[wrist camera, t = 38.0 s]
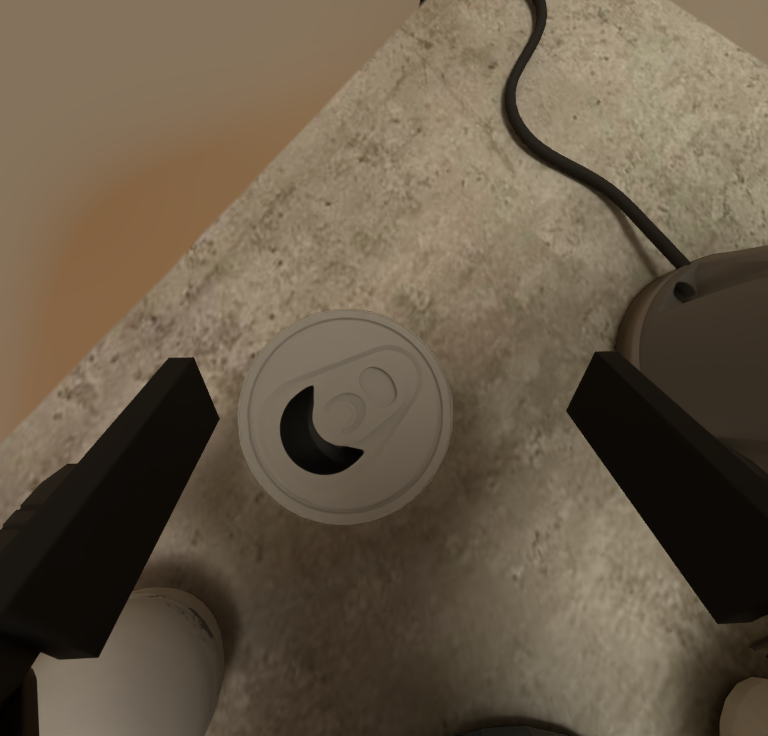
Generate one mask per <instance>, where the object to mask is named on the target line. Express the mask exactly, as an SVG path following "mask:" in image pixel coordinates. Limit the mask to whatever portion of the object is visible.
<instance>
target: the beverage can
mask: <svg viewBox="0 0 768 736" xmlns="http://www.w3.org/2000/svg"><path fill="white" fill-rule="evenodd" d="M237 420H238V432H239V440H240V445H241V449H242V452H243V455H244V458H245V460H246V463H247V465H248V467H249V469H250V471H251V472H252V474H253V476H254V477H255V479H256V480H257V482H258V483H259V484H260V486H261V487H262V488H263V489H264V490H265V491H266V492H267V493H268V495H269V496H270V497H272V498H273V499H274V500H275V501H276V502H277V503H279V504H280V505H281V506H283V507H284V508H286V509H287V510H289V511H291V512H293V513H295V514H297V515H299V516H301V517H303V518H306V519H309V520H312V521H315V522H319V523H324V524H331V525H355V524H362V523H367V522H371V521H374V520H378V519H381V518H383V517H386V516H388V515H390V514H392V513H394V512H396V511H398V510H400V509H402V508H403V507H405V506H406V505H408V504H409V503H410V502H412V501H413V500H414V499H416V498H417V497H418V496H419V495H420V494H421V493H422V492H423V491H424V490H425V489H426V487H427V486H428V485H429V484H430V483H431V481H432V480H433V479H434V477H435V476H436V474H437V473H438V471H439V469H440V468H441V466H442V464H443V462H444V460H445V457H446V455H447V452H448V449H449V446H450V442H451V438H452V433H453V425H454V406H453V399H452V393H451V389H450V385H449V382H448V379H447V376H446V374H445V372H444V369H443V367H442V365H441V363H440V362H439V360H438V359H437V357H436V356H435V354H434V353H433V351H432V350H431V349H430V347H429V346H428V345H427V344H426V343H425V342H424V341H423V340H422V339H421V338H420V337H419V336H418V335H417V334H415V333H414V332H413V331H411V330H410V329H408V328H407V327H406V326H404V325H402V324H401V323H399V322H397V321H395V320H393V319H391V318H389V317H386V316H384V315H381V314H378V313H374V312H370V311H365V310H359V309H335V310H328V311H323V312H319V313H315V314H312V315H309V316H307V317H304V318H302V319H300V320H298V321H296V322H294V323H292V324H291V325H289V326H287V327H286V328H284V329H283V330H282V331H280V332H279V333H278V334H277V335H275V336H274V337H273V338H272V339H271V340H270V341H269V342H268V343H267V344H266V345H265V346H264V348H263V349H262V350H261V351H260V353H259V354H258V355H257V357H256V358H255V360H254V361H253V363H252V365H251V367H250V368H249V370H248V372H247V374H246V377H245V380H244V382H243V385H242V388H241V392H240V397H239V402H238V409H237Z"/></svg>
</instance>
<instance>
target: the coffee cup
mask: <svg viewBox="0 0 768 736" xmlns="http://www.w3.org/2000/svg"><path fill="white" fill-rule="evenodd" d="M720 736H768V679H765V678H757V677H750V678H748V679H746V680H743V681H741V682H739V683H737V684H736V685H735V687H734V688H733V690H732V691H731V692H730V694H729V695H728V696H727V698H726V699H725V703H724V707H723V710H722V714H721V718H720Z"/></svg>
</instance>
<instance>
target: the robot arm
mask: <svg viewBox="0 0 768 736" xmlns="http://www.w3.org/2000/svg"><path fill="white" fill-rule="evenodd" d="M425 1H426V0H420V3H419V7H420V6H421V5H422V4H423V3H424V2H425ZM532 1H533V3H534V6H535V9H536V16H537V19H536V26H535V29H534V32H533V34H532V36H531V38H530V40H529V42H528V43H527V45H526V47H525V48H524V50H523V52H522V54H521V55H520V57H519V59H518V60H517V62H516V64H515V66H514V68H513V70H512V72H511V75H510V77H509V80H508V83H507V87H506V92H505V108H506V112H507V115H508V118H509V121H510V123H511V125H512V127H513V129H514V131H515V133H516V134H517V135H518V137H519V138H520V140H521V141H522V142H523V143H524V144H525V145H526V146H527V147H528V148H529V149H530V150H531V151H533V152H534V153H535V154H536V155H538V156H539V157H541V158H542V159H544V160H545V161H547V162H549V163H550V164H552V165H554V166H556V167H558V168H560V169H561V170H563V171H565V172H567V173H569V174H571V175H573V176H575V177H577V178H578V179H580V180H582V181H584V182H586V183H587V184H589V185H591V186H592V187H594V188H595V189H597V190H598V191H600V192H601V193H603V194H604V195H605V196H606V197H608V198H609V199H610V200H611V201H612V202H614V203H615V204H616V205H617V206H618V207H619V208H620V209H621V210H622V211H623V212H624V213H625V214H626V215H627V216H628V217H629V218H630V219H631V220H632V222H633V223H634V224H635V225H636V226H637V227H638V228H639V229H640V230H641V231H642V232H643V233H644V235H645V236H646V237H647V238H648V239H649V240H650V241H651V242H652V243H653V244H654V245H655V246H656V247H657V248H658V249H659V251H660V252H661V253H662V254H663V255H664V256H665V257H666V258H667V259H668V260H669V261H670V262H671V264H672V265H673V266H674V267H675V268H676V269H675V270H673V271H671V272H669V273H667V274H665V275H663V276H661V277H659V278H658V279H656V280H655V281H653V282H652V283H651V284H649V285H648V286H647V287H646V288H645V289H644V290H643V291H642V292H641V293H640V294H639V295H638V296H637V297H636V299H635V300H634V301H633V303H632V304H631V306H630V307H629V309H628V311H627V312H626V314H625V317H624V319H623V321H622V324H621V327H620V330H619V333H618V338H617V343H616V351H607V352H595V353H594V355H593V357H592V359H591V361H590V363H589V366H588V368H587V370H586V372H585V374H584V376H583V378H582V380H581V382H580V384H579V386H578V388H577V390H576V392H575V394H574V396H573V398H572V400H571V402H570V404H569V406H568V408H567V410H566V412H567V413H568V414H569V416H570V417H571V419H572V420H573V421H574V423H575V424H576V426H577V427H578V428H579V430H580V431H581V433H582V434H583V435H584V437H585V438H586V440H587V441H588V443H589V444H590V445H591V447H592V448H593V450H594V451H595V452H596V454H597V455H598V457H599V458H600V459H601V461H602V462H603V464H604V465H605V466H606V468H607V469H608V471H609V472H610V473H611V475H612V476H613V478H614V479H615V480H616V482H617V483H618V485H619V486H620V488H621V489H622V490H623V492H624V493H625V495H626V496H627V497H628V499H629V500H630V502H631V503H632V504H633V506H634V507H635V509H636V510H637V511H638V513H639V514H640V516H641V517H642V518H643V520H644V521H645V523H646V524H647V526H648V527H649V528H650V530H651V531H652V533H653V534H654V535H655V537H656V538H657V540H658V541H659V542H660V544H661V545H662V547H663V548H664V549H665V551H666V552H667V554H668V555H669V556H670V558H671V559H672V561H673V562H674V564H675V565H676V566H677V568H678V569H679V571H680V572H681V573H682V575H683V576H684V578H685V579H686V580H687V582H688V583H689V585H690V586H691V587H692V589H693V590H694V592H695V593H696V594H697V596H698V597H699V599H700V600H701V602H702V603H703V604H704V606H705V607H706V609H707V610H708V611H709V613H710V614H711V616H712V617H713V618H714V620H715V621H716V623H717V624H728V623H747V622H752V621H754V620H757V619H759V618H761V617H763V616H765V615H768V245H767V246H761V247H755V248H749V249H744V250H738V251H732V252H726V253H719V254H713V255H709V256H706V257H702V258H700V259H697V260H695V261H692V262H690V261H689V260H688V259H687V258H686V257H685V256H684V255H683V254H682V253H681V252H680V251H679V250H678V249H677V248H676V246H675V245H674V244H673V243H672V242H671V241H670V240H669V239H668V238H667V237H666V236H665V235H664V234H663V233H662V232H661V231H660V230H659V229H658V228H657V227H656V226H655V225H654V224H653V222H652V221H651V220H650V219H649V218H648V217H647V216H646V215H645V214H644V213H643V212H642V211H641V210H640V209H639V208H638V207H637V206H636V205H635V204H634V203H633V202H632V201H631V200H630V199H629V198H628V197H627V196H626V195H625V194H624V193H623V192H621V191H620V190H619V189H618V188H616V187H615V186H614V185H613V184H611V183H610V182H608V181H607V180H605V179H604V178H603V177H601V176H599V175H598V174H596V173H594V172H593V171H591V170H589V169H587V168H585V167H583V166H582V165H580V164H578V163H576V162H574V161H572V160H570V159H568V158H566V157H564V156H562V155H561V154H559V153H557V152H555V151H554V150H552V149H551V148H549V147H548V146H546V145H545V144H543V143H542V142H541V141H540V140H538V139H537V138H536V137H535V136H534V135H533V134H532V133H531V132H530V131H529V129H528V128H527V127H526V125H525V124H524V123H523V121H522V119H521V117H520V115H519V112H518V109H517V106H516V95H515V92H516V87H517V83H518V80H519V77H520V75H521V73H522V71H523V69H524V68H525V66H526V64H527V62H528V61H529V59H530V57H531V56H532V54H533V52H534V51H535V49H536V47H537V45H538V43H539V41H540V39H541V36H542V34H543V31H544V28H545V25H546V19H547V8H546V1H545V0H532ZM219 419H220V418H219V416H218V414H217V411H216V409H215V407H214V404H213V402H212V399H211V397H210V395H209V392H208V390H207V388H206V385H205V383H204V380H203V378H202V376H201V373H200V371H199V369H198V366H197V364H196V362H195V359H194V357H192V358H168V359H167V361H166V362H165V363H164V364H163V365H162V366H161V368H160V369H159V370H158V371H157V372H156V373H155V375H154V376H153V377H152V378H151V379H150V380H149V381H148V383H147V384H146V385H145V386H144V387H143V388H142V390H141V391H140V392H139V393H138V394H137V395H136V397H135V398H134V399H133V400H132V401H131V402H130V403H129V405H128V406H127V407H126V408H125V409H124V410H123V412H122V413H121V414H120V415H119V416H118V417H117V419H116V420H115V421H114V422H113V423H112V424H111V425H110V427H109V428H108V429H107V430H106V431H105V432H104V434H103V435H102V436H101V437H100V438H99V439H98V441H97V442H96V443H95V444H94V445H93V446H92V447H91V449H90V450H89V451H88V452H87V453H86V454H85V456H84V457H83V458H82V459H81V460H80V461H79V463H78V464H67V465H65V466H64V467H62V468H61V469H60V470H58V471H57V472H56V473H54V474H53V475H51V476H50V477H49V478H47V479H46V480H45V481H43V482H42V483H41V484H40V485H39V486H38V487H37V488H36V489H35V490H34V491H33V492H32V494H31V495H30V496H29V497H28V498H27V499H26V500H25V501H24V502H23V503H22V504H21V505H20V506H21V508H20V509H19V510H16V511H15V512H14V513H13V514H12V515H11V516H10V517H9V519H8V520H7V521H6V522H5V523H4V524H3V528H2V529H1V530H0V736H39V714H38V691H37V678H36V675H35V672H34V670H33V668H31V666H32V665H33V663H34V662H35V660H36V658H37V657H38V655H39V654H40V652H41V653H44V654H46V655H48V656H51V657H53V658H56V659H58V660H66V659H85V658H99V656H100V654H101V652H102V650H103V648H104V646H105V644H106V642H107V640H108V638H109V636H110V634H111V632H112V630H113V628H114V626H115V624H116V622H117V620H118V618H119V616H120V614H121V612H122V611H123V609H124V607H125V605H126V603H127V601H128V599H129V597H130V595H131V593H132V591H133V589H134V587H135V585H136V583H137V581H138V579H139V577H140V575H141V573H142V571H143V569H144V567H145V565H146V563H147V561H148V559H149V557H150V555H151V553H152V551H153V549H154V547H155V545H156V543H157V541H158V539H159V537H160V535H161V534H162V532H163V530H164V528H165V526H166V524H167V522H168V520H169V518H170V516H171V514H172V512H173V510H174V508H175V506H176V504H177V502H178V500H179V498H180V496H181V494H182V492H183V490H184V488H185V486H186V484H187V482H188V480H189V478H190V476H191V474H192V472H193V470H194V468H195V466H196V464H197V462H198V460H199V458H200V457H201V455H202V453H203V451H204V449H205V447H206V445H207V443H208V441H209V439H210V437H211V435H212V433H213V431H214V429H215V427H216V425H217V423H218V421H219ZM766 646H768V629H767V630H764V631H762V632H759V633H757V634H755V635H754V636H752V637H750V640H749V645H748V647H750V648H751V649H753V650H755V651H756V650H758V649H761V648H764V647H766ZM765 657H766V658H768V652H767V653H766V654H765Z"/></svg>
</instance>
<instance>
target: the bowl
mask: <svg viewBox="0 0 768 736" xmlns="http://www.w3.org/2000/svg"><path fill="white" fill-rule="evenodd" d="M459 736H568V735H564V734H559V733H555V732H551V731H546V730H542V729H538V728H533V727H529V726H527V727H526V726H498V727H491V728H485V729H478V730H475V731H472V732H469V733H465V734H462V735H459Z"/></svg>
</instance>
